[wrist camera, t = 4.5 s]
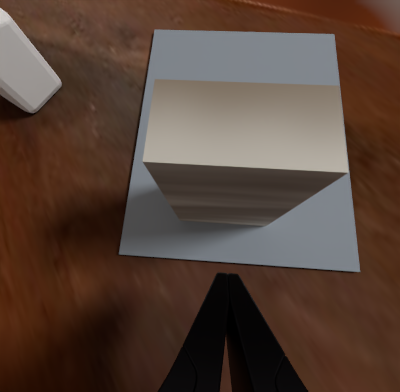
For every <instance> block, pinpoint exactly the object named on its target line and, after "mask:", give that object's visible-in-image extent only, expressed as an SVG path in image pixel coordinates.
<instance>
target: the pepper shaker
mask: <svg viewBox="0 0 400 392" xmlns="http://www.w3.org/2000/svg"><path fill="white" fill-rule="evenodd" d="M61 84H62V83H61V80H60V79H59V77H58V76H57V75H56V73H55V72H54V71H53V70H52V68H51V67H50V66H49V65H48V63H47V62H46V61H45V60H44V58H43V57H42V56H41V55H40V53H39V52H38V51H37V50H36V48H35V47H34V46H33V45H32V43H31V42H30V41H29V40H28V38H27V37H26V36H25V35H24V33H23V32H22V31H21V29H20V28H19V27H18V26H17V24H16V23H15V22H14V21H13V19H12V18H11V17H10V16H9V14H7V13H6V12H5V11H3V10H2V9H1V8H0V95H1V96H3V97H4V98H6V99H7V100H9V101H10V102H12V103H13V104H15V105H16V106H18V107H19V108H21V109H22V110H24V111H26V112H29V113H35V112H37V111H38V110H39V109H40V108H41V107H42V106H43V105H44V104H45V103H46V102H47V101H48V100H49V99H50V98H51V97H52V96H53V95H54V94H55V93H56V92H57V91H58V89H59V88H60V87H61Z"/></svg>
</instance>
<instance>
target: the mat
mask: <svg viewBox="0 0 400 392" xmlns="http://www.w3.org/2000/svg"><path fill="white" fill-rule="evenodd" d="M155 79H168V80H196V81H223V82H251V83H279V84H307V85H335V86H339V88H340V83H339V74H338V65H337V56H336V46H335V37H334V34H305V33H266V32H226V31H187V30H155V31H154V38H153V44H152V50H151V56H150V63H149V69H148V75H147V81H146V88H145V94H144V100H143V106H142V113H141V119H140V125H139V131H138V137H137V144H136V150H135V156H134V162H133V169H132V175H131V181H130V187H129V194H128V200H127V206H126V212H125V219H124V225H123V231H122V237H121V244H120V250H119V254H120V255H133V256H147V257H161V258H175V259H188V260H202V261H216V262H229V263H243V264H257V265H270V266H284V267H298V268H312V269H325V270H339V271H353V272H360V266H359V257H358V248H357V239H356V230H355V220H354V211H353V202H352V193H351V184H350V175H349V173H347V174H346V175H344V176H343V177H341V178H340V179H338V180H337V181H335V182H334V183H332V184H330V185H329V186H327V187H326V188H324V189H323V190H321V191H320V192H318V193H317V194H315V195H313V196H312V197H310V198H309V199H307V200H306V201H304V202H303V203H301V204H300V205H298V206H296V207H295V208H293V209H292V210H290V211H289V212H287V213H286V214H284V215H283V216H281V217H279V218H278V219H276V220H275V221H273V222H272V223H270V224H269V225H267V226H255V225H239V224H224V223H209V222H193V221H180V220H179V218H178V217H177V215H176V214H175V212H174V211H173V209H172V207H171V206H170V204H169V203H168V201H167V200H166V198H165V196H164V195H163V193H162V192H161V190H160V189H159V187H158V185H157V184H156V182H155V181H154V179H153V178H152V176H151V174H150V173H149V171H148V170H147V168H146V167H145V165H144V163H143V162H142V161H143V155H144V148H145V141H146V134H147V128H148V121H149V114H150V108H151V101H152V94H153V87H154V81H155ZM340 98H341V92H340ZM341 107H342V101H341ZM342 116H343V111H342ZM343 125H344V120H343ZM344 135H345V129H344ZM345 144H346V138H345ZM346 153H347V147H346ZM347 162H348V156H347ZM348 171H349V165H348Z"/></svg>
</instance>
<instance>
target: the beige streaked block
mask: <svg viewBox="0 0 400 392" xmlns="http://www.w3.org/2000/svg"><path fill="white" fill-rule="evenodd" d="M142 162H143V163H144V165H145V167H146V168H147V170H148V171H149V173H150V174H151V176H152V178H153V179H154V181H155V182H156V184H157V185H158V187H159V189H160V190H161V192H162V193H163V195H164V196H165V198H166V200H167V201H168V203H169V204H170V206H171V207H172V209H173V211H174V212H175V214H176V215H177V217H178V218H179V220H180V221H193V222H209V223H224V224H239V225H255V226H267V225H269V224H270V223H272V222H273V221H275V220H276V219H278V218H279V217H281V216H283V215H284V214H286V213H287V212H289V211H290V210H292V209H293V208H295V207H296V206H298V205H300V204H301V203H303V202H304V201H306V200H307V199H309V198H310V197H312V196H313V195H315V194H317V193H318V192H320V191H321V190H323V189H324V188H326V187H327V186H329V185H330V184H332V183H334V182H335V181H337V180H338V179H340V178H341V177H343V176H344V175H346V174H347V173H349V171H348V162H347V153H346V144H345V135H344V125H343V116H342V107H341V98H340V88H339V86H335V85H307V84H279V83H251V82H223V81H196V80H168V79H155V81H154V87H153V94H152V101H151V108H150V114H149V121H148V128H147V134H146V141H145V148H144V155H143V161H142Z"/></svg>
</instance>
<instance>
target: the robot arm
mask: <svg viewBox="0 0 400 392" xmlns="http://www.w3.org/2000/svg"><path fill="white" fill-rule="evenodd" d="M225 337H226V340H227V349H228V358H229V367H230V376H231V386H232V392H308V390H307V389H306V387H305V386H304V384H303V383H302V381H301V379H300V378H299V376H298V375H297V373H296V371H295V370H294V368H293V366H292V365H291V363H290V361H289V360H288V358H287V356H285V353H284V351H283V350H282V348H281V346H280V344H279V343H278V341H277V339H276V338H275V336H274V334H273V333H272V331H271V329H270V327H269V326H268V324H267V322H266V321H265V319H264V317H263V316H262V314H261V312H260V310H259V309H258V307H257V305H256V304H255V302H254V300H253V298H252V297H251V295H250V293H249V292H248V290H247V288H246V287H245V285H244V283H243V281H242V280H241V278H240V276H239V275H238V274H233V273H229V274H228V275H227V273H217V274H216V276H215V278H214V280H213V282H212V285H211V287H210V289H209V291H208V293H207V295H206V297H205V299H204V301H203V304H202V306H201V308H200V310H199V312H198V314H197V316H196V318H195V320H194V323H193V325H192V327H191V329H190V331H189V333H188V335H187V337H186V339H185V342H184V344H183V347H182V348H181V350H180V352H179V354H178V356H177V358H176V360H175V362H174V364H173V366H172V368H171V370H170V372H169V373H168V375H167V377H166V379H165V380H164V382H163V384H162V385H161V387H160V389H159V390H158V392H220V382H221V373H222V364H223V355H224V346H225ZM284 356H285V357H284Z"/></svg>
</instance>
